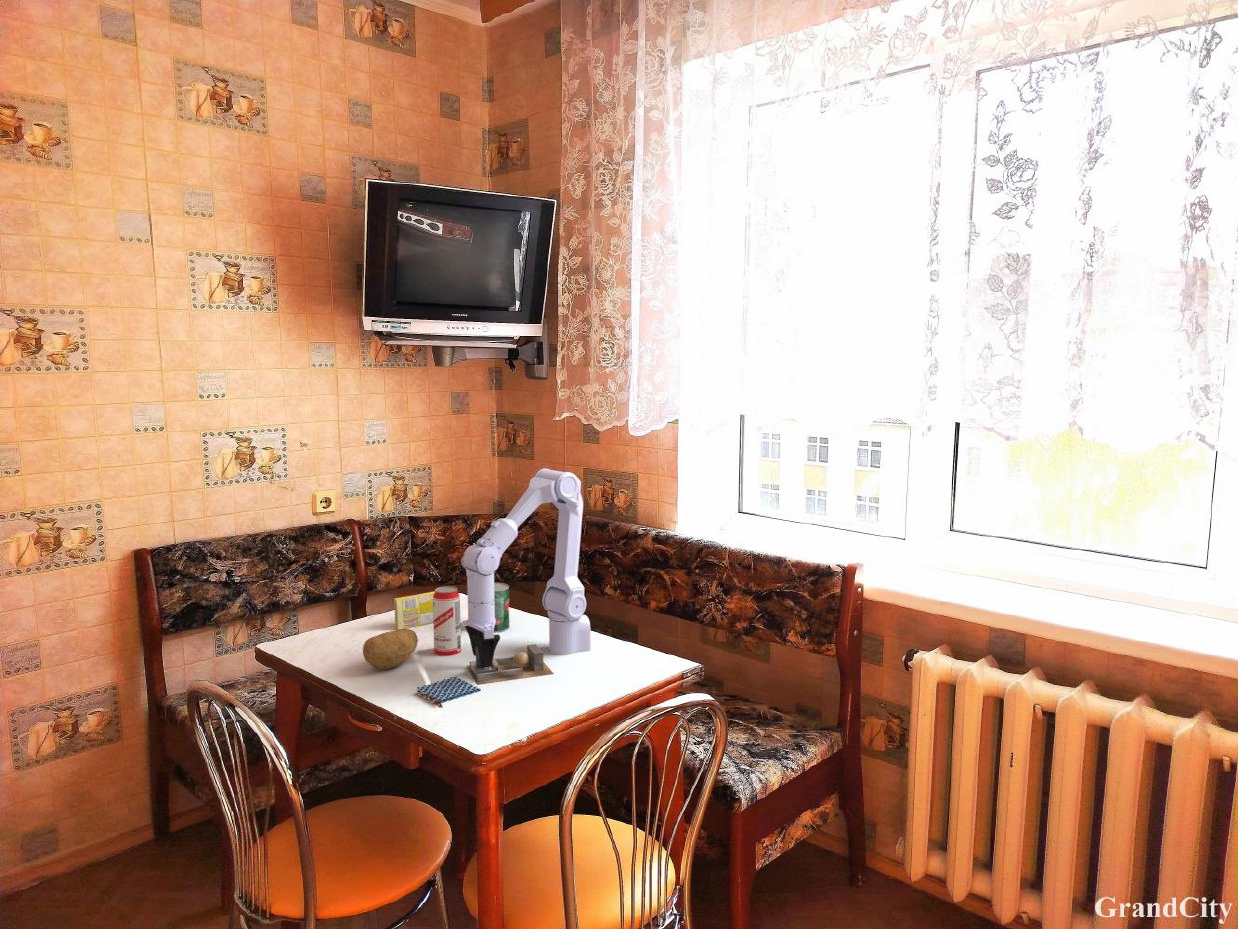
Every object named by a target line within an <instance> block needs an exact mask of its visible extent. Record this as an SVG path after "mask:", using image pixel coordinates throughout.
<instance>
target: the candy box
mask: <svg viewBox="0 0 1238 929" xmlns="http://www.w3.org/2000/svg"><path fill="white" fill-rule="evenodd" d="M434 593H435V590H434V591H429V592H424V593H419V594H413V595H407V596H402V597H396V598H394V599H393V607H394V608H393V610H394V624H395V625H394V626H395V627H394V628H395V630H398V629H411V628H412V627H413V628H418V627H423V626H426V625H433V595H434ZM417 626H418V627H417ZM413 628H412V629H413Z"/></svg>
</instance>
